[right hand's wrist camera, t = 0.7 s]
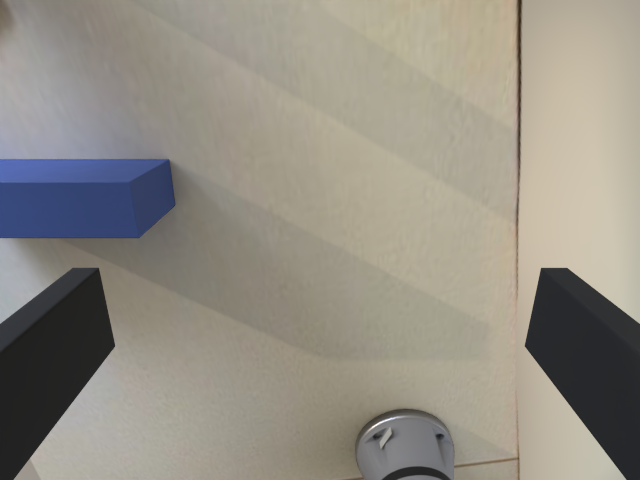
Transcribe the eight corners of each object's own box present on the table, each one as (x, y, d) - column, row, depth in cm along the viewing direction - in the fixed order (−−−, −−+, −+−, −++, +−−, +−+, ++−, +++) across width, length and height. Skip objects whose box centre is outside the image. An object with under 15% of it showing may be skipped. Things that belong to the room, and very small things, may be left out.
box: (169, 159, 50) (129, 181, 40) (175, 205, 52) (139, 238, 42) (-30, 159, 50) (-123, 181, 40) (-16, 205, 52) (-101, 238, 42)
